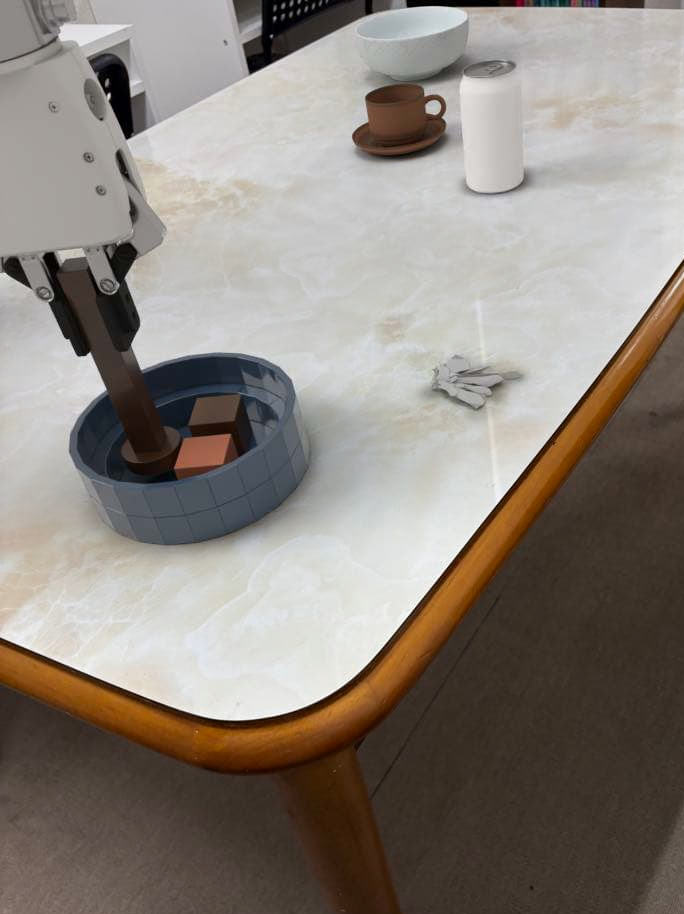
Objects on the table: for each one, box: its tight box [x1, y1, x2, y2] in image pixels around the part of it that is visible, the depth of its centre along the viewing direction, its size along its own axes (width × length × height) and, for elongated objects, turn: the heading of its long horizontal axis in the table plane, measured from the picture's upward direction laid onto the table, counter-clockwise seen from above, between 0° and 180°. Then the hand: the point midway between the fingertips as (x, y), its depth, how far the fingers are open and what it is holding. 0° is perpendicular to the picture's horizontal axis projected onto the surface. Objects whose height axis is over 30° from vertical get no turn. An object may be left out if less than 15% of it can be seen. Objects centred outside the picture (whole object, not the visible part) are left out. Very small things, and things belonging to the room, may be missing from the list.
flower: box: [430, 354, 524, 409], centre depth 68 cm, size 8×8×3 cm
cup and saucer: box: [351, 83, 447, 156], centre depth 107 cm, size 12×12×6 cm
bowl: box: [68, 351, 311, 546], centre depth 63 cm, size 16×16×6 cm
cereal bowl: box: [354, 5, 470, 82], centre depth 128 cm, size 17×17×7 cm
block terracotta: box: [174, 434, 239, 480], centre depth 61 cm, size 4×4×4 cm
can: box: [459, 58, 525, 195], centre depth 93 cm, size 6×6×12 cm
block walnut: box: [188, 394, 253, 457], centre depth 65 cm, size 4×4×4 cm
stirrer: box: [56, 256, 183, 475], centre depth 58 cm, size 4×4×15 cm
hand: (107, 341), depth 57 cm, fingers closed on stirrer, 2 cm apart
